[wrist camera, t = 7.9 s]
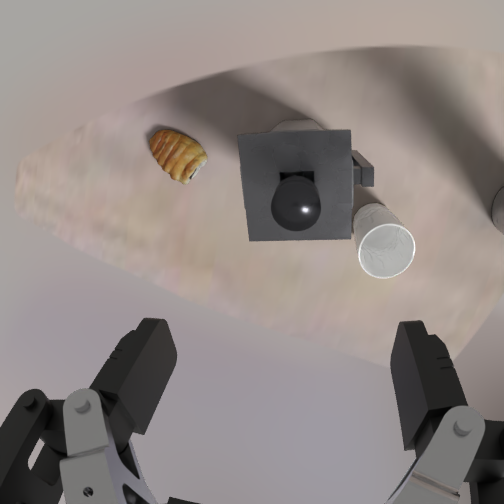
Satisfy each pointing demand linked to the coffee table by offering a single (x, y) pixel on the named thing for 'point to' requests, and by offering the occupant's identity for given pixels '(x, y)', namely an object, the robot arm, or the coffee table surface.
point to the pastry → (177, 154)
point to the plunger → (296, 201)
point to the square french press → (301, 159)
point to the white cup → (382, 241)
